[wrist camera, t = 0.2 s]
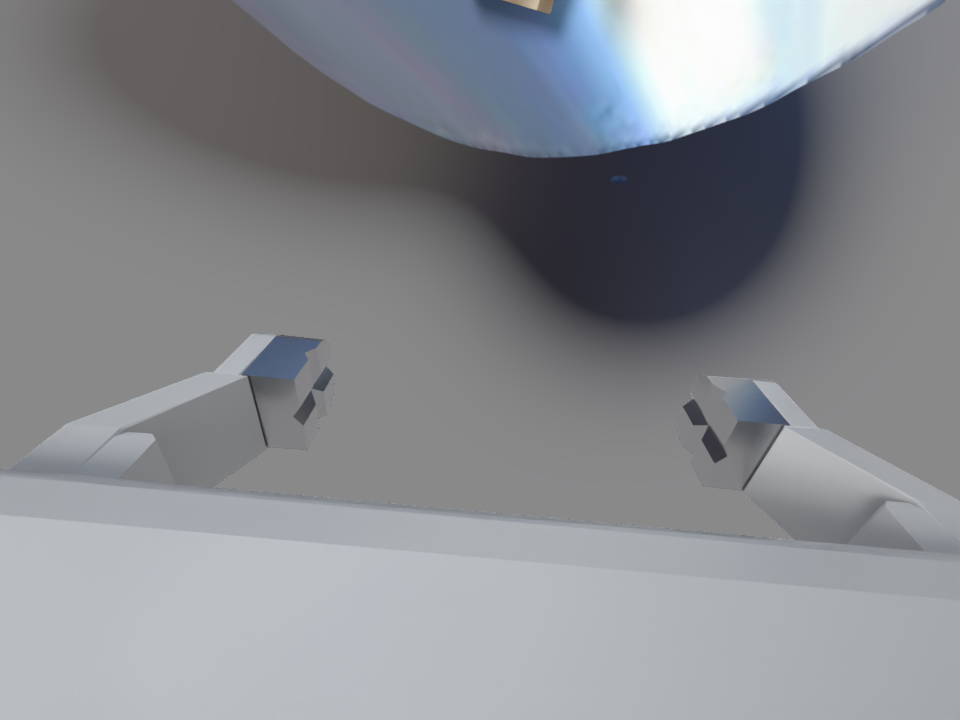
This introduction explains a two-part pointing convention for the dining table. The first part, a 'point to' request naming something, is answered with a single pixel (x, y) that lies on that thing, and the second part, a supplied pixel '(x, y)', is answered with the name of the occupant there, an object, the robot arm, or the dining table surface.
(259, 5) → the dining table surface
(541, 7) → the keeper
